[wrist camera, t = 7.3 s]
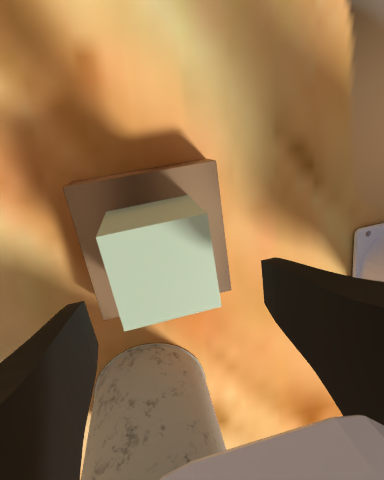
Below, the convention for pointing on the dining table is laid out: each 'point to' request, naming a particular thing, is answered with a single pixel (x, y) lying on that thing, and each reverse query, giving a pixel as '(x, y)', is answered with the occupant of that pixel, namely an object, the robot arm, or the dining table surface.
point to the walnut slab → (136, 193)
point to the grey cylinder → (150, 415)
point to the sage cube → (159, 261)
